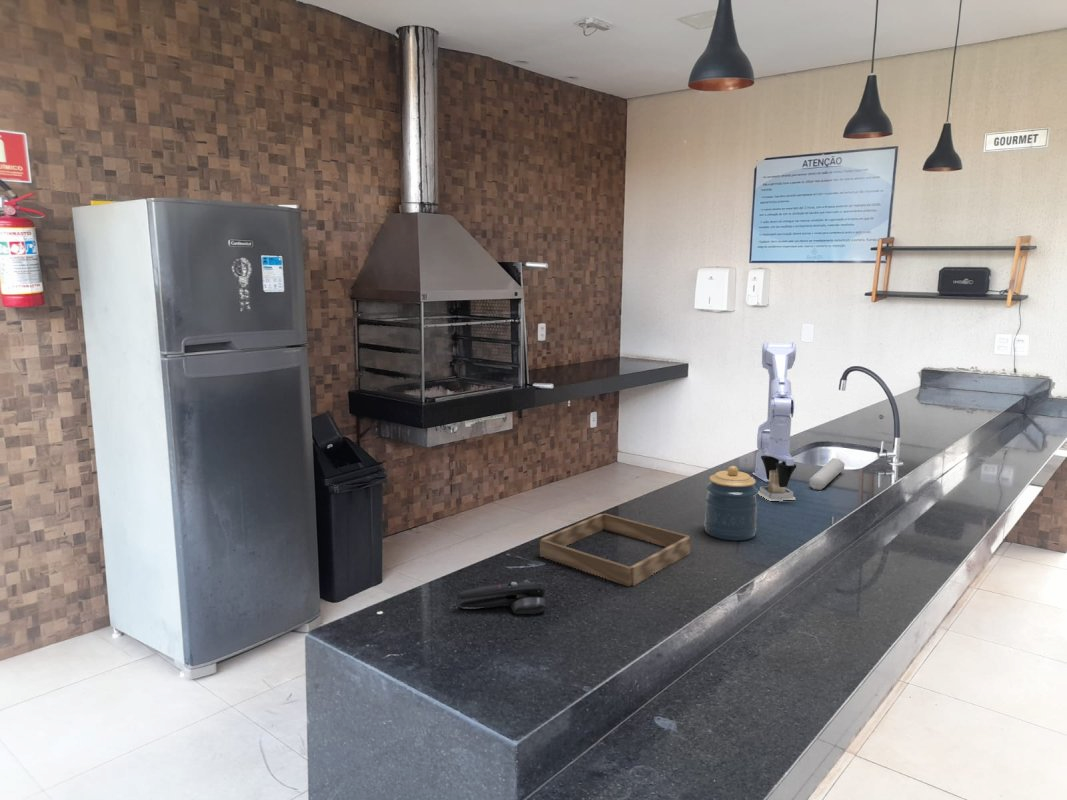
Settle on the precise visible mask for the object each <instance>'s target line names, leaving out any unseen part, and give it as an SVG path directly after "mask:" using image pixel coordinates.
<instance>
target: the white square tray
mask: <svg viewBox="0 0 1067 800" xmlns="http://www.w3.org/2000/svg"><path fill="white" fill-rule="evenodd" d="M768 490H769V485H765V486H759V491H760V493H761V494H763V495H765V496H766V497H768V498H771V499H782V498H793V497H794V491H792V490H791V489H789V488H787V487H785V493H771V492H769V491H768Z"/></svg>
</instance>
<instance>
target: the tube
mask: <svg viewBox="0 0 1067 800" xmlns="http://www.w3.org/2000/svg"><path fill="white" fill-rule="evenodd" d="M843 471H845V462H843V461H842V460H841V459H840V458H835V457H833V458H831V459H830V460H829V461H828V462H827V463H826V464H825V465H824V466H823V467H822V468H821V469H819V470H818V471H817V472H816V473H814V474H813V475H812V476H811V477H810V478H809V483H808V484H809V485H808V486H809V487H810V488H812V489H813V490H818V491H822V490H823V489H824V488H825V487H826V486H827V485H828V484H829V483H831V482H832V480H834V479H835V478H836V477H837V476H838V475H840V474H841V473H842V472H843ZM840 472H841V473H840ZM839 473H840V474H839Z"/></svg>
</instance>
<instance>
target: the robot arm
mask: <svg viewBox="0 0 1067 800" xmlns="http://www.w3.org/2000/svg"><path fill="white" fill-rule="evenodd" d="M761 347H762V348H761V349H762V350H761V365H762V368H763V369H765V370H767V372H768V373H767V374H768V377H769V378H768V399H767V400H768V401H767V420H766V421H764V422H763V423H761V424H760V425H759V426H758V429H757V437H756V448H757V449H758V451H757V452H756V454H755V467H754V468H755V469H754V472H752V475H754V476H755V477H757V478H758V479H760V480H762V481H764V483H765V482H766V483H767V482H768V483H769V473H770V470H777V471H778V478H779V487H786V488H787V487H788V485H789V482H790V478H791V476H792V474H793V473H794V471H795V470H796V469H797V464H795V458H793V457H792V455H791V454H790V446H791V429H792V418H793V417H794V413H795V400H794V396H793V395H792V382H791V381H790V380H789V379H788V378H787V376H788V370H790V369H793V366H794V363H795V361H796V356H797V346H796V343H795V342H774V341H772V342H769V341H764V342H763V343H762V346H761Z"/></svg>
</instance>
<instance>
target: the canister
mask: <svg viewBox="0 0 1067 800" xmlns="http://www.w3.org/2000/svg"><path fill="white" fill-rule="evenodd" d="M709 481H710V482H708V483H707V484H706V485H705V489H706V490H707V496H706V497H705V498H704V499H705V500H704V501H705V516H704V521H703V522H704V524H703V526H704V530H705V533H706V534H707V535H708V536H711V537H713V538H716V539H720V540H724V541H725V540H726V541H733V542H734V541H747V540H751V539H753V538H754V537H755V535H756V531H757V511H758V505H759V502H758V500H757V495H758V494H757V493H758V492H759V491H760V489H758V487H757V486H756V485H755V484H756V479H755V478H754V477H752V476H751V475H750V474H748V473H746V472H743V471H739V469H738V467H737V466H736V465H730V466H729V467H728V468H727V470H720V471H717V472H715V473H714V474H712V475H710V476H709Z"/></svg>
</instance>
